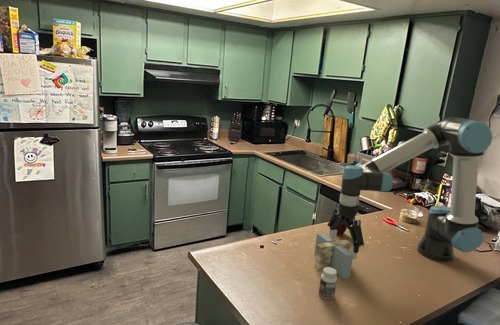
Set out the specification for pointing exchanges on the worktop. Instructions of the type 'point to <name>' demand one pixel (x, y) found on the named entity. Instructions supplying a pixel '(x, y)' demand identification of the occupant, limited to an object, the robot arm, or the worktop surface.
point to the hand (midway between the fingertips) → (342, 251)
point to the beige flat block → (328, 252)
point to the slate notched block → (337, 257)
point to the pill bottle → (328, 283)
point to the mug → (341, 229)
